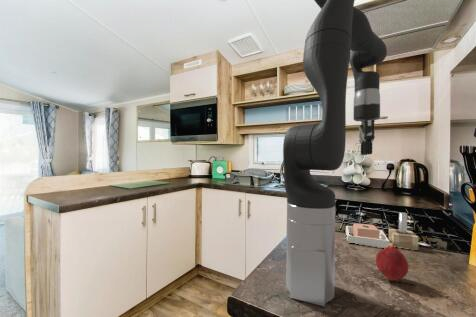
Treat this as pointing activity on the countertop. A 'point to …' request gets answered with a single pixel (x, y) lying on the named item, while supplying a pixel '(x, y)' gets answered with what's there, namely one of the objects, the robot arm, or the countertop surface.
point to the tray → (367, 239)
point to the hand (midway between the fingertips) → (366, 154)
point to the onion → (392, 263)
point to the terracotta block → (365, 230)
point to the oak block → (403, 239)
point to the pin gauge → (402, 223)
